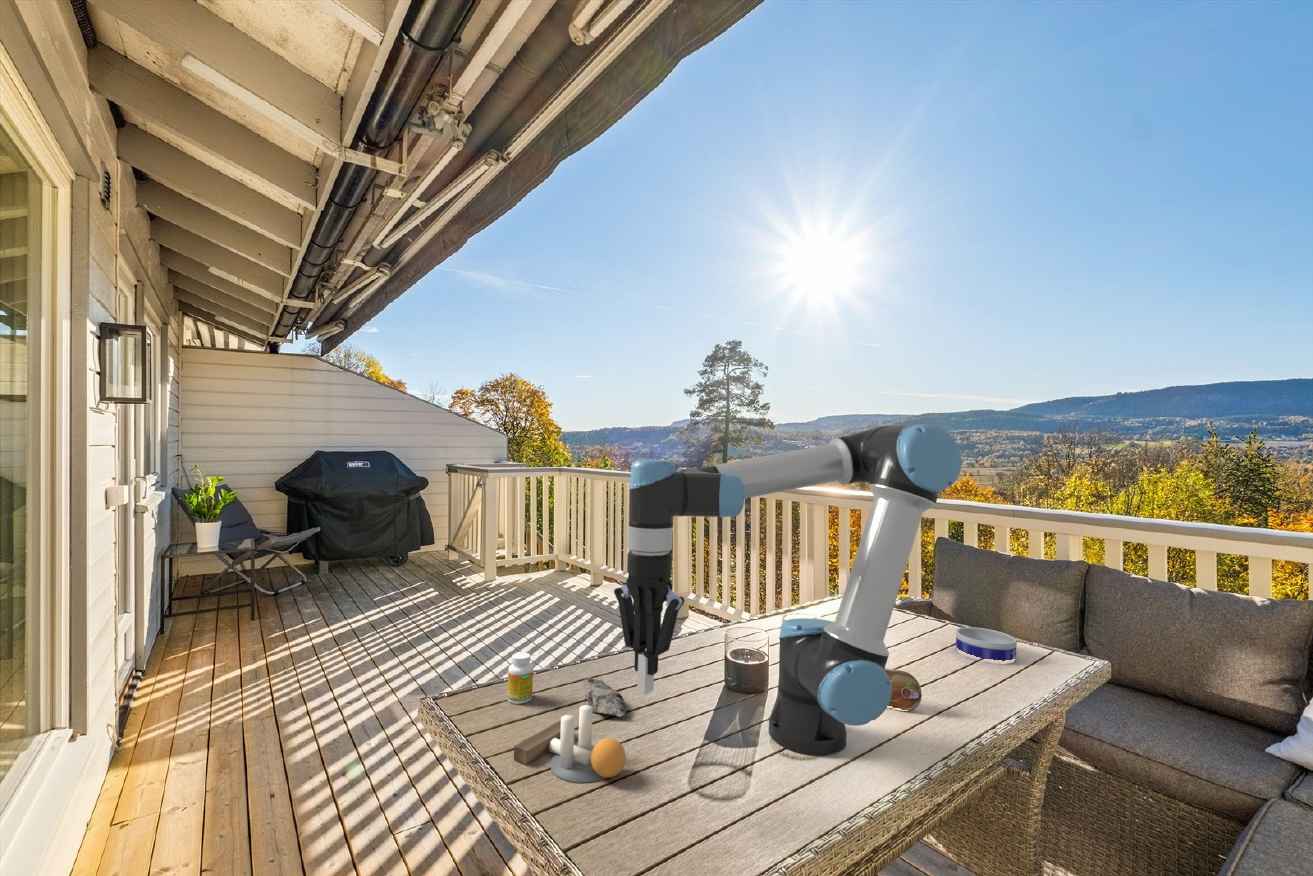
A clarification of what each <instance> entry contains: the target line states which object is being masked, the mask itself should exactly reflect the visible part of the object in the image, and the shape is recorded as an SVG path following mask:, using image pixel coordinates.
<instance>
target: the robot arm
mask: <svg viewBox="0 0 1313 876" xmlns="http://www.w3.org/2000/svg"><path fill="white" fill-rule="evenodd" d="M962 458H963V457H962V453H961V449H960V447H959V446H958V445H957V442H956V440H955V438H954V436H952V435H951V433H950V432H948V431H947V430H945V429H944V428H942V427H939V426H938V425H934V424H924V423H922V422H921V423H919V422H918V423H912V424H900V425H898V424H897V425H883V426H881V425H880V426H877V427H873V428H870V429H866V430H863V431H860V432H855V433H853V434H849V435H845V436H841V437H840V436H839V437H834V438H832V439H830V441H829V443H828V444H824V445H818V446H811V447H806V448H801V449H795V450H791V451H784V452H779V453H774V454H769V455H764V456H758V457H757V456H756V457H753V458H746V459H740V460H735V461H730V462H725V463H720V464H714V465H711V466H710V465H709V466H702V467H699V468H698V467H697V468H690V467H689V468H684V469H680V470H678V471H677V469H676V465H675V462H674V461H672V460H662V459H660V460H659V459H637V460H634V462H633V463H632V464H631V467H630V469H631V471H630V478H629V480H630V481H629V485H628V487H629V497H628V501H629V503H628V504H629V505H628V526H627V527H628V530H627V531H628V532H627V549H628V550H630V551H628V552H627V558H626V559H627V561H626V562H627V563H626V565H627V566H626V572H627V575H628V576H627V578H626V581H625V584H624V585H622V586H621V587H617V588H614V590H613V594H614V595H615V599H616V600H617V602H618V607H619V608H618V609H619V615H620V621H621V626H622V635H623V640H624V645H625V646H626V648H630V649H632V650H633V652H634V662H633V663H634V666H633V668H634V671H635V672H637V683H636V684H637V687H636V691H637V692H636V694H637V695H641V696H643V697H645V696H646V695H648V694H650V693H651V692H653V691H654V686H655V685H654V680H655V675H656V674H657V673H658V671H659V656H660V655H662V654H664V653H666V652H668V651H670V647H671V643H672V640H673V639H672V638H673V635H674V630H675V627H676V623H677V619H678V616H679V611H680V610H681V608H682V606H683V605H684V603H685V601H686V600H685V598H684V596H678V595H677V594H676V593H675V591H673V585H672V583H671V575H672V572H673V571H672V570H673V569H672V568H673V567H672V564H673V563H672V562H673V555H672V553H671V552H670V551H672V550H673V536H674V535H673V528H674V517H709V518H720V519H723V518H725V517H726V518H727V517H728V518H729V517H737V516H739V515H740V514H741V513H742V511H743V509H744V505H745V500H746V499H749V498H755V497H759V496H766V495H771V494H775V493H780V492H786V491H791V490H792V491H793V490H796V489H802V488H807V487H811V486H818V485H823V484H828V483H834V482H837V483H839V484H840V485H850V484H856V483H858V484H859V483H868V488H869V489H870V491H871V492H872V495H873V501H872V503H871V507H870V510H869V513H868V516H867V519H866V522H865V525H864V529H863V532H862V534H861V538H860V542H859V545H858V548H857V552H856V553H855V557H854V561H853V563H852V566H851V570H850V573H849V576H848V580H847V583H846V585H845V588H844V589H845V590H844V591H843V596H842V598H841V602H840V604H839V608H838V611H837V614H836V617H835V620H834V621H832V620H828V619H819V618H807V617H806V618H803V617H802V618H790V619H787V620H784V621H783V622H782V624H781V625H780V633H779V637H778V640H779V652H778V653H779V658H778V659H779V660H778V663H779V664H778V691H777V692H778V693H777V697H776V699H775V702H774V704H773V706H772V710H771V712H770V715H769V719H768V734H769V736H770V738H771V740H772V741H774V742H775V743H776V744H778V745H780V746H781V747H783V748H785V749H787V750H790V751H792V752H797V753H801V754H805V755H810V756H811V755H812V756H825V755H826V756H827V755H834V754H836V753H839V752H841V751H842V750H843V749H845V747H846V745H847V732H848V731H847V728H846V725H847V726H853V727H854V726H857V727H858V726H863V725H867V724H869V723H870V722H871V721H876V720H878V718H880V716H881V715H882V714H884V712H885V711H886V709H887V706H888V704H889V702H890V699H891V695H892V686H891V682H890V681H889V677H888V675H887V673H886V672H885V671H884V669H885V668H886V665H887V662H888V659H889V655H890V652H889V651H888V648H887V646H886V643H885V642H884V640H885V637H886V634H887V630H888V627H889V624H890V620H891V617H892V614H893V611H894V608H895V604H896V601H897V598H898V595H899V592H900V589H901V585H902V582H903V579H904V577H905V576H904V575H905V573H906V569H907V565H908V563H909V559H910V557H911V553H912V549H913V547H914V544H915V540H916V537H917V534H918V530H919V528H920V524H921V521H922V517H923V514H924V513H925V512H926V511H927V510H929V509H930V510H931V508H934V507H935V506H936V503H937V501H938V497H939V494H940V492H942V491H945V490H947V489H948V488H949V487H950V486H953V485H954V484H955V483H956V482H957V480H958V479H959V476H960V474H961V471H962V466H963V465H962V464H963V460H962ZM665 602H666V603H665ZM664 603H665V606H667V607H666V609H665V611H664V615H663V619H662V612H663V609H664Z"/></svg>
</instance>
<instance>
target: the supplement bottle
mask: <svg viewBox="0 0 1313 876" xmlns="http://www.w3.org/2000/svg"><path fill="white" fill-rule="evenodd" d="M530 662H531V654H530V653H528V652H515V653H513V654H512V655H511V663H512V664H510V665H509V667H508V669H507V670H508V671H507V692H506V693H507V695H506V696H507V701H508V703H510V702H511V704H515V705H522V703H523V704H526V702H527V703H528V701H529V702H530V701H531V700H532V697H533V682H534V681H533V680H534V679H533V677H534V665H533V664H532V663H530Z"/></svg>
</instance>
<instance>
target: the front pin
mask: <svg viewBox="0 0 1313 876" xmlns="http://www.w3.org/2000/svg"><path fill="white" fill-rule="evenodd" d="M549 752H550V753H553V754H555V755H556V754H557V755H560V740H559V739H557V738H554V739H552V740H551V742H550V745H549ZM591 754H592V751H589V750H586V749H583V748H581V747H578V745H575V744H574V759H573V761H575V762H578V763H580V764H583V765H585V766H587V765H589V764H590V763H591Z"/></svg>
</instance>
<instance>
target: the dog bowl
mask: <svg viewBox="0 0 1313 876" xmlns="http://www.w3.org/2000/svg"><path fill="white" fill-rule="evenodd" d="M955 636H956V637H955V641H956V642H955V648H956V647H957V648H958V649H959V650H961V651H963V652H965V653H967V654H970V655H974V656H976V657H980V658H984V659H993V660H1002V661H1005V660H1012V659H1015V658H1016V659H1017V643H1018V642H1017V639H1016V638H1015V637H1014V636H1012V635H1011V634H1010V635H1009V634H1007V633H1004V632H1002V631H998V630H994V629H990V628H983V627H975V626H973V627H972V626H971V627H970V626H968V627H967V626H964V627H959V628H957V629H956V630H955Z"/></svg>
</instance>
